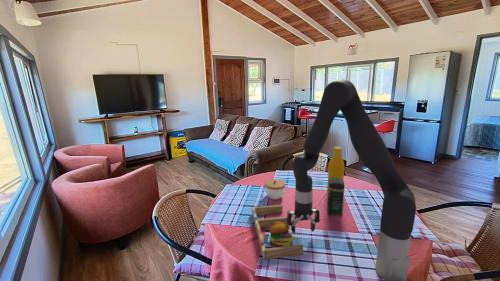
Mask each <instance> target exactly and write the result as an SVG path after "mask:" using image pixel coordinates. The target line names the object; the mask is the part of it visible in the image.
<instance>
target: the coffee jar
mask: <svg viewBox="0 0 500 281" xmlns="http://www.w3.org/2000/svg"><path fill="white" fill-rule="evenodd" d="M327 186H328V190H327V202H326V204H327V205H326V210H327V213H328V214H329V215H332V216H341V215H342V214H343V211H344V210H343V208H344V207H343V206H344V197H345V181H344V179H343V180H342V179H340V178H337V177H332V178H330V179H329V184H328V183H327Z"/></svg>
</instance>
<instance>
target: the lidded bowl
mask: <svg viewBox="0 0 500 281" xmlns="http://www.w3.org/2000/svg"><path fill="white" fill-rule="evenodd" d="M264 191H265V193H266V196H268V198H269V199H272V200H280V199H281V198H282V197H283V196H284V194H285V191H286V182H285V181H284V180H282V179H278V178H273V179H267V180H266V181H265V182H264Z"/></svg>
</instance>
